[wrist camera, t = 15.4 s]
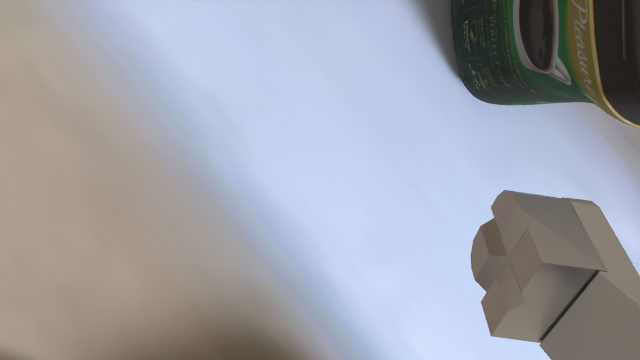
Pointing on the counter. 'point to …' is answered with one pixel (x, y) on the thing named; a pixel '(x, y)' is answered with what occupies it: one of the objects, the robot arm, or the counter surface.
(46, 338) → the counter surface
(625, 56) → the coffee jar
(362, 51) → the counter surface
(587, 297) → the robot arm
